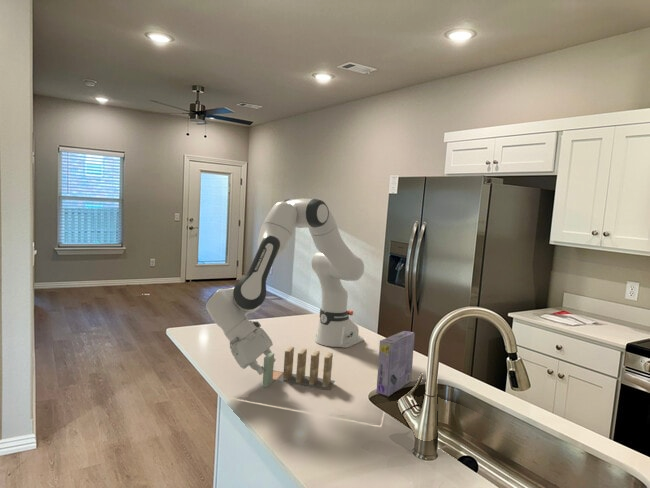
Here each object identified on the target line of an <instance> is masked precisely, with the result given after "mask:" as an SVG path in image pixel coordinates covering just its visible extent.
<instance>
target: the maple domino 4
mask: <svg viewBox="0 0 650 488" xmlns="http://www.w3.org/2000/svg"><path fill="white" fill-rule="evenodd" d="M332 367H333V352H327V353H326V355H325V356H324V360H323V373H322V379H323V385H322V387H325V388H327V387H328V386H329V384H330V382H331V380H332Z"/></svg>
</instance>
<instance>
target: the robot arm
mask: <svg viewBox="0 0 650 488" xmlns="http://www.w3.org/2000/svg"><path fill="white" fill-rule="evenodd" d="M295 228H297V229H298V228H299V229H305V228H308V231H309V232H310V235H311V236H310V237H311V238H312V240H313V243H314V246H315V247H316V249H317V251H316V253H314V255H313V257H312V258H311V268H312V270H313V271H314V273H315V274H316V276H317V277H318V279H319V284H320V288H321V307H320V310H319V320H318V326H317V333H316V334H315V340H314V342H315V343H317V344H319V345H322V346H325V347H331V348H332V347H334V348H337V347H338V348H344V349H345V348H346V349H347V348H349V347H352V346H355V345H357V344H359V343H361V342H363V341H364V337H363V336H362V335H360V334H359V326H358V325H357V324H356V323H355V322H353V321H352V320H351V319H350V316H353V315H354V311H353V310H351V309H349V310H348V300H349V299H348V298H349V295H348V294H349V293H348V291H347V290H346V288H344V286H343V285H342V282H341V280H342V281H344V282H345V281H347V282H349V281H350V282H355V281H359V280H360V279H361V278H362V276H363V275H364V274H365V263H364V261H363V260H362V259H361V258H360V257H359V256H357V255H356V254H355V253H354V252H353V251H352V250H351V248H349V247H348V245H347V244H346V243H345V241H344V240H343V238H342V235H341V233H340V231H339V229H338V226H337V223H336V221H335V218H334V215H333V214H332V212H331V210H330V208H329V207H328V205H327V204H326V202H325V201H323V200H321V199H317V198H305V197H303V198H293V199H289V198H288V199H284V200H281V201H278V202H276V203H275V204H274V205H273V206H272V208H271V209H270V210H269V211H268V214H267V215H266V217H265V219H264V220H263V223H262V225H261V227H260V231H259V233H258V237H257V242H256V243H257V249H256V254H255V256H254V258H253V260H252V262H251V264H250V267H249V269H248V271H247V272H246V274H245V275H244V276H243V277H242V278H240V279H239V280H238V281H237V282H236V284H235V285H234V287H230V288H219V289H216V290H215V291H214V292H213V293H212V294H211V295H210V296H209V297H208V299H207V301H206V304H205V308H206V310H207V312H208V315H209V316H210V317H211V319H212V321H213V322H214V323H215V324H216V325H217V326H218V327H219V328H220V329H221V330H222V331H223V334H224V336H225V337H226V339H228V341H229V348H230V352H231V354H232V356H233V359H234V360H235V361H236V363H237V364H238V365H239V367H240V368H242V369H243V370H245V369H246V368H248V367H250V368H251V369H252V370H254V371H256V372H257V374H258V375H260V376H261V375H263V373H264V372H265V369H264V365H263V366H261V365H260V364H259V363H258V361H257V359H258V358H259V357H261V356H262V355H264V356H266V355H268V354H269V353H273V352H272V350H271V347H272V346H274V345H273V341H272V339H271V338H270V336H269V335H268V333H267V332H266V331H265V330H264V329H263V328H261V327H262V325H261V323H260V322H259V321H257V320H256V321H253V320H249V318H248V317H247V316H248V315H250V314H251V313H254V312H255V311H257V310H259V308H260V307H261V305H262V304H263V303H264V302H265V299H266V296H267V279H268V276H269V274H270V271H271V269H272V267H273V264H274V262H275V260H276V258H277V257H278V256H279V255H281V254H282V253H284V251H285V249H286V248H287V246H288V244H289V243H290V241H291V239H292V236H293V233H294V230H295ZM275 362H276V358H275V357H274V363H275Z"/></svg>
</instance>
